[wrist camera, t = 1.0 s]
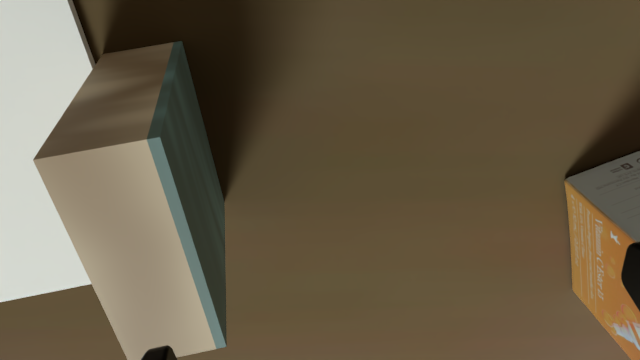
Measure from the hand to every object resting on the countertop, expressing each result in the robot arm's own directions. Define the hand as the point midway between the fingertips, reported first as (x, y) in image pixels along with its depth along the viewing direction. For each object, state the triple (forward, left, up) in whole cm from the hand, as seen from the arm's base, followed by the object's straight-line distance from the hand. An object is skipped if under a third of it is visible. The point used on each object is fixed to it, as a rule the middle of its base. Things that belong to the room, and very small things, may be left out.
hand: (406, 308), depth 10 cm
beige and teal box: (+6, +1, -12) cm, 13 cm away
